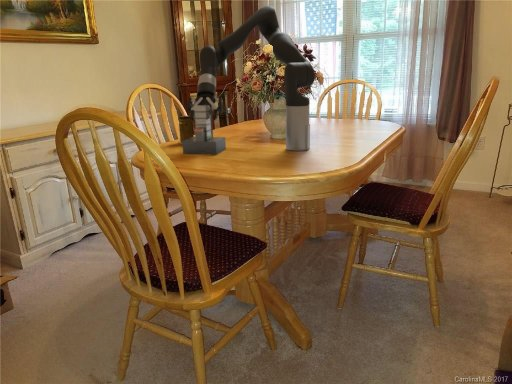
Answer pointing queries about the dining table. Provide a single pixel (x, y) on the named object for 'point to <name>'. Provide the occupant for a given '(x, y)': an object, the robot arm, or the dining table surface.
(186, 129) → the condiment
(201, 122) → the column
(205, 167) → the dining table surface
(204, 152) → the stand base
